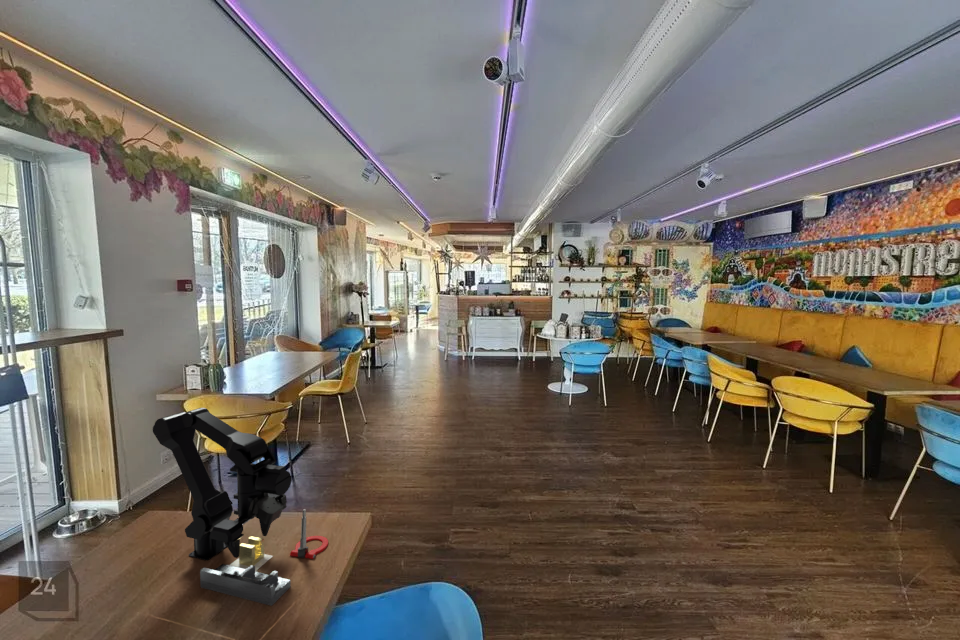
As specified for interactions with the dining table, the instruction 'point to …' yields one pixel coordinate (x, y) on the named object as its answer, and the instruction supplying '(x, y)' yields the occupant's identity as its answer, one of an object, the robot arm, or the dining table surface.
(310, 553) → the tow hook
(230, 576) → the rack flange
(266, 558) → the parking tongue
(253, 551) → the bracket
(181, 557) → the dining table surface
